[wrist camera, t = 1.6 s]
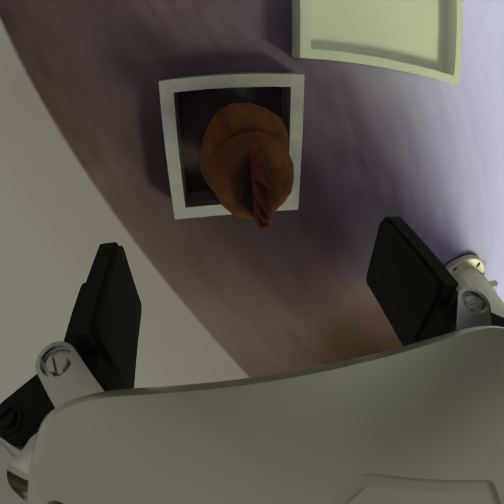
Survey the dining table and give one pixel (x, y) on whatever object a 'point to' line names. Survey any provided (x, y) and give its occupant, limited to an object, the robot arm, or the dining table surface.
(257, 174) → the brown lumpy elongated piece
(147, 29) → the dining table surface
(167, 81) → the white square bin
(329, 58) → the sage tray
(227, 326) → the dining table surface
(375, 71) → the dining table surface
